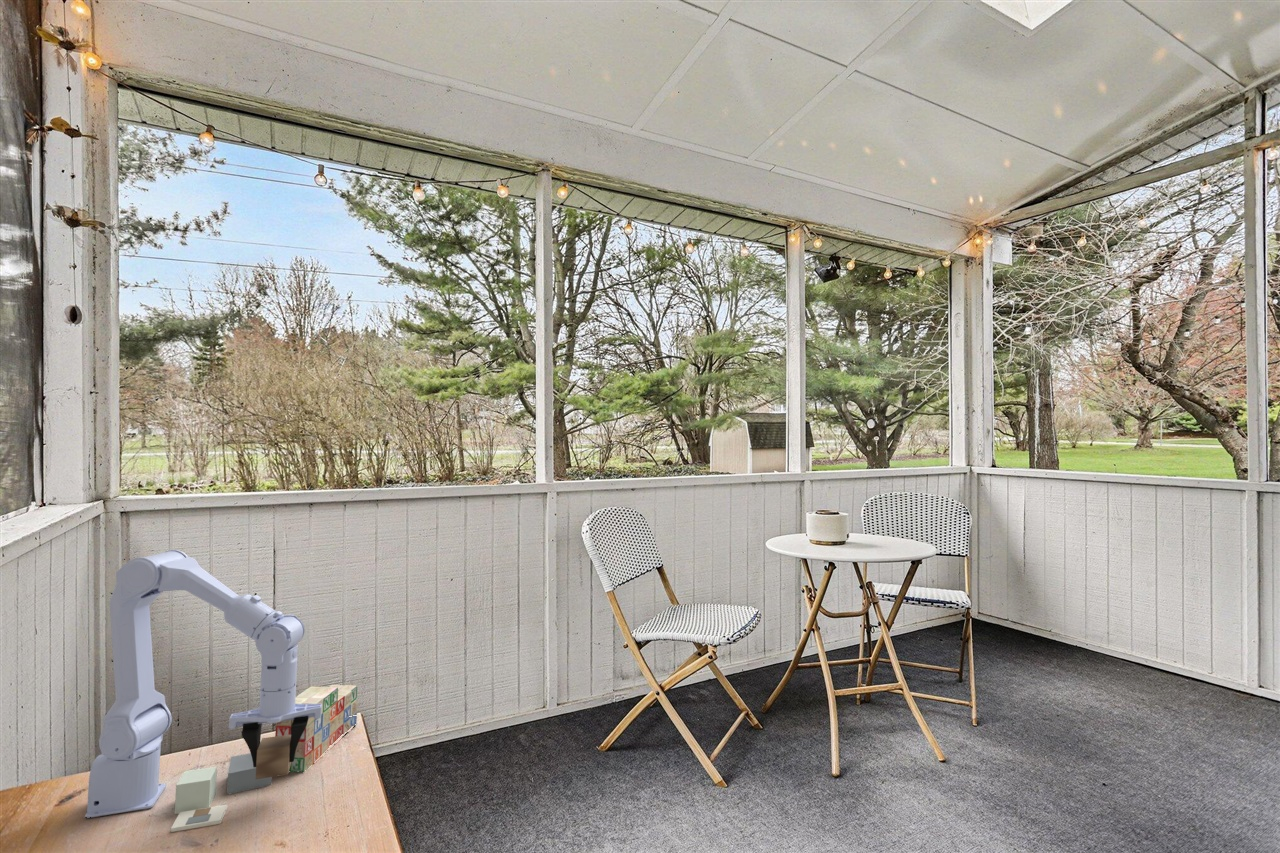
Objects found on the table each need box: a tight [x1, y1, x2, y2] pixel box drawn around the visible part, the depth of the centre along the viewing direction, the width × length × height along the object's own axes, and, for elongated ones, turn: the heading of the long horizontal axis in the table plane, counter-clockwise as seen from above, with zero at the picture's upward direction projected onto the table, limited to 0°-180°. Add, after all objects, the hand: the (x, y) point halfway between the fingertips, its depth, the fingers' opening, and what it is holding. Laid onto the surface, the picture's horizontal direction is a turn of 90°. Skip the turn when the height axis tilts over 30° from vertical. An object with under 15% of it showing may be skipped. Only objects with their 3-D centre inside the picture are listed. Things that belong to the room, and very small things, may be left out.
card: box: [170, 803, 228, 833], centre depth 106 cm, size 7×5×1 cm
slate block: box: [226, 752, 273, 795], centre depth 119 cm, size 7×7×4 cm
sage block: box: [174, 765, 218, 815], centre depth 111 cm, size 5×5×5 cm
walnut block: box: [256, 735, 291, 779], centre depth 113 cm, size 5×5×5 cm
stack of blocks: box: [274, 684, 358, 773], centre depth 133 cm, size 21×6×12 cm, turn 178°
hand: (274, 762), depth 113 cm, fingers closed on walnut block, 5 cm apart
